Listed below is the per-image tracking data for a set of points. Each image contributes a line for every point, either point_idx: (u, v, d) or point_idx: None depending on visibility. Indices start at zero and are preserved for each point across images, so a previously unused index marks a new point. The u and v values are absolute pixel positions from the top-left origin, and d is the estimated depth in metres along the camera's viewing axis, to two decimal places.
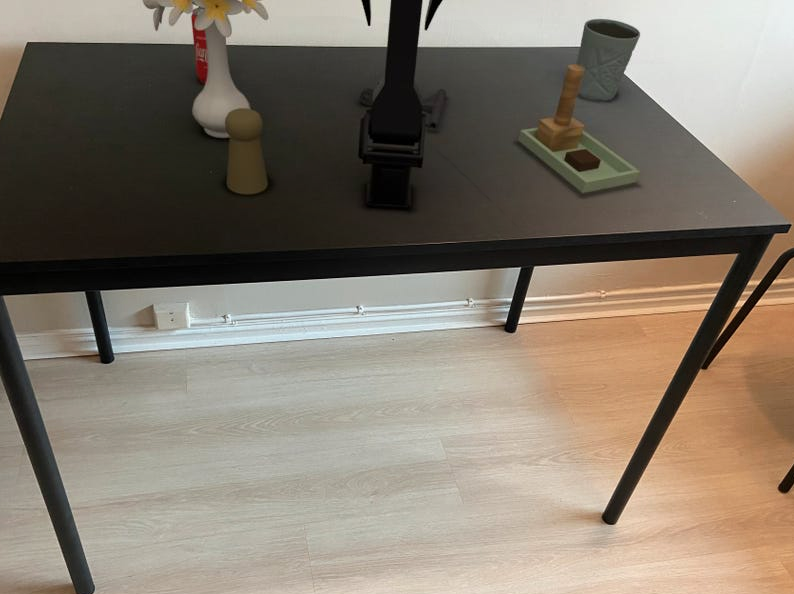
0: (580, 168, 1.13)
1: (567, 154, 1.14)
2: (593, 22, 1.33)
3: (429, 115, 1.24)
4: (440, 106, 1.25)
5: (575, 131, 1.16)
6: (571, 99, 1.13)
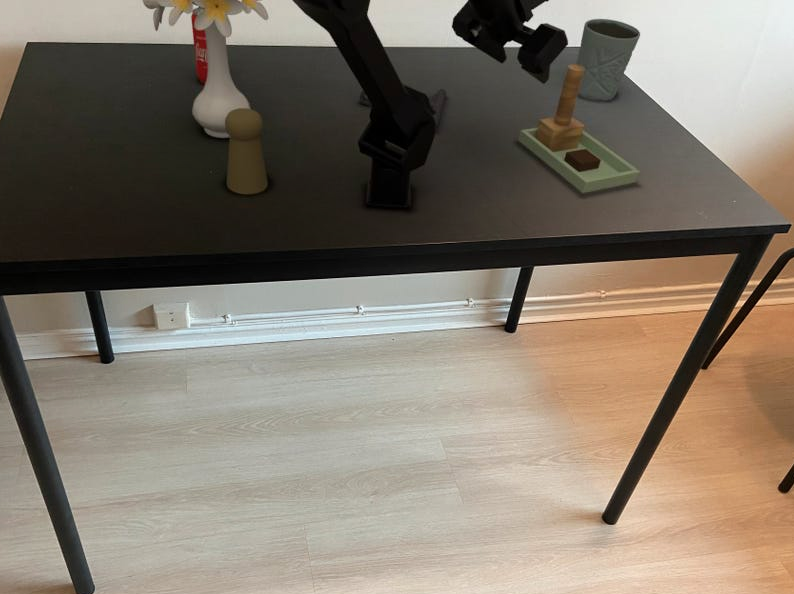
0: (580, 168, 1.13)
1: (567, 154, 1.14)
2: (593, 22, 1.33)
3: None
4: (440, 106, 1.25)
5: (575, 131, 1.16)
6: (571, 99, 1.13)
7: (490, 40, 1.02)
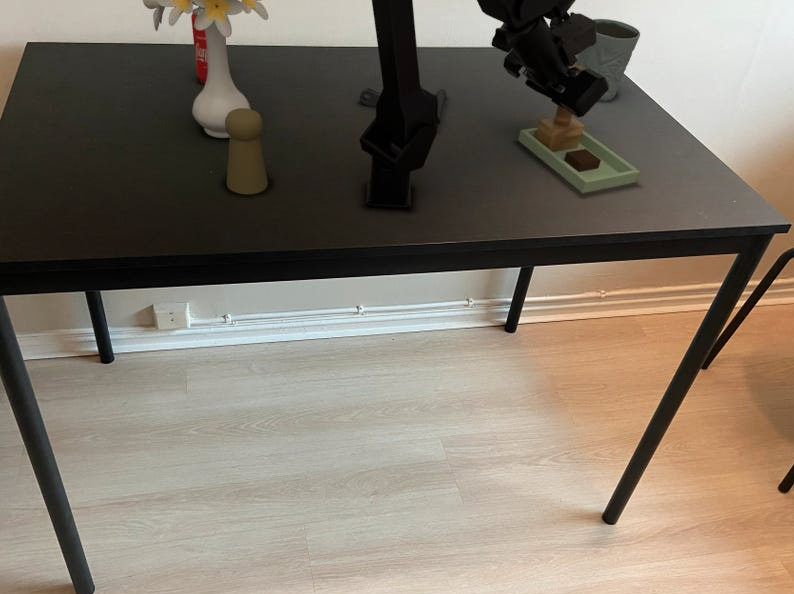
0: (580, 168, 1.13)
1: (567, 154, 1.14)
2: None
3: None
4: (440, 106, 1.25)
5: (575, 131, 1.16)
6: None
7: (536, 83, 1.09)
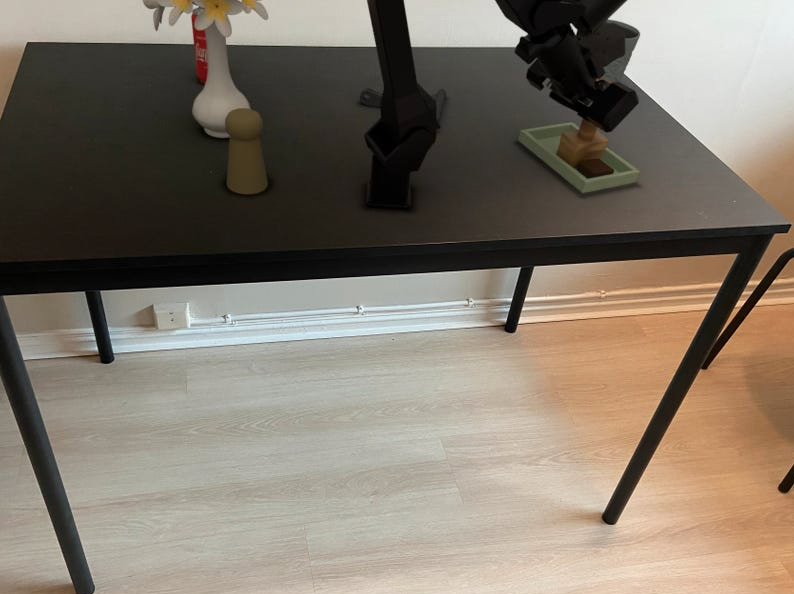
0: None
1: (580, 164, 1.12)
2: None
3: None
4: (440, 106, 1.25)
5: (598, 146, 1.12)
6: None
7: (561, 96, 1.04)
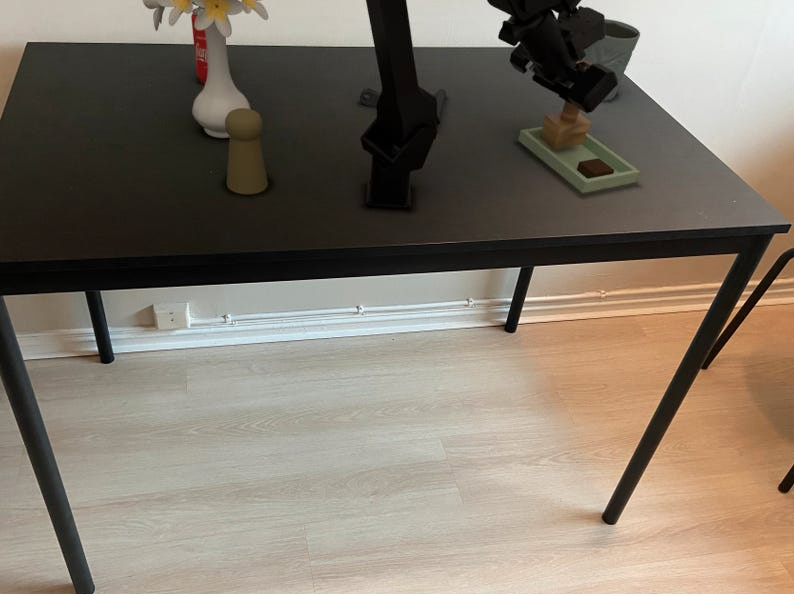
0: None
1: (580, 164, 1.12)
2: None
3: None
4: (440, 106, 1.25)
5: (581, 128, 1.15)
6: None
7: (543, 78, 1.07)
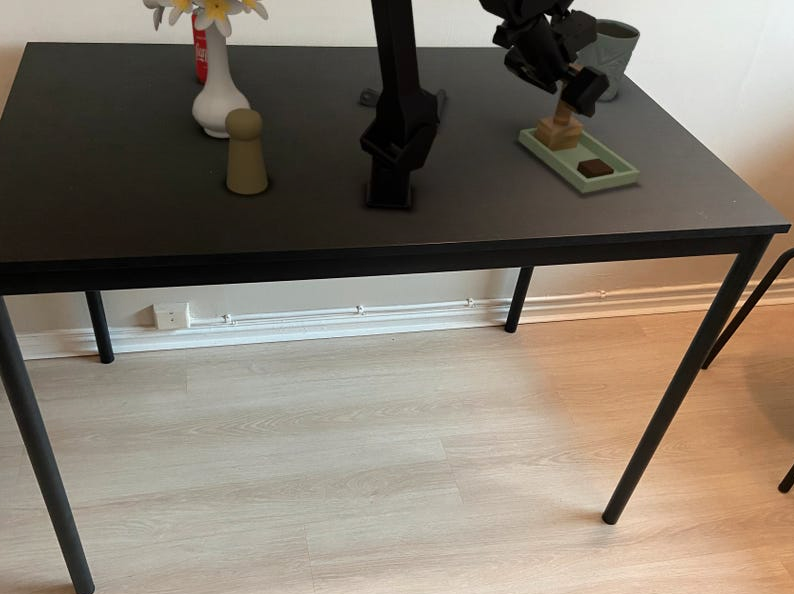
0: None
1: (580, 164, 1.12)
2: None
3: None
4: (440, 106, 1.25)
5: (574, 130, 1.16)
6: None
7: (536, 80, 1.08)
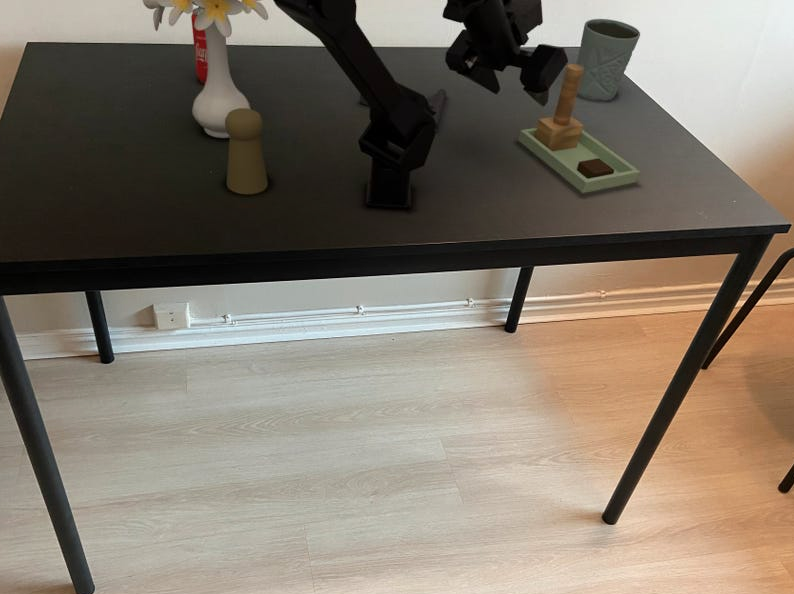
0: None
1: (580, 164, 1.12)
2: (593, 22, 1.33)
3: None
4: (440, 106, 1.25)
5: (574, 130, 1.16)
6: (570, 99, 1.13)
7: (489, 66, 1.02)
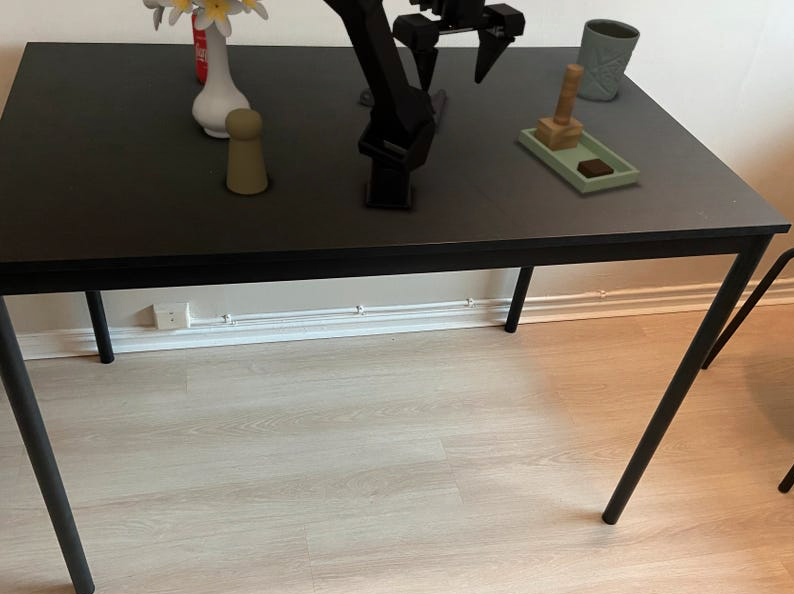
0: None
1: (580, 164, 1.12)
2: (593, 22, 1.33)
3: None
4: (440, 106, 1.25)
5: (574, 130, 1.16)
6: (570, 99, 1.13)
7: (474, 21, 0.95)
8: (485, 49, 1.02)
